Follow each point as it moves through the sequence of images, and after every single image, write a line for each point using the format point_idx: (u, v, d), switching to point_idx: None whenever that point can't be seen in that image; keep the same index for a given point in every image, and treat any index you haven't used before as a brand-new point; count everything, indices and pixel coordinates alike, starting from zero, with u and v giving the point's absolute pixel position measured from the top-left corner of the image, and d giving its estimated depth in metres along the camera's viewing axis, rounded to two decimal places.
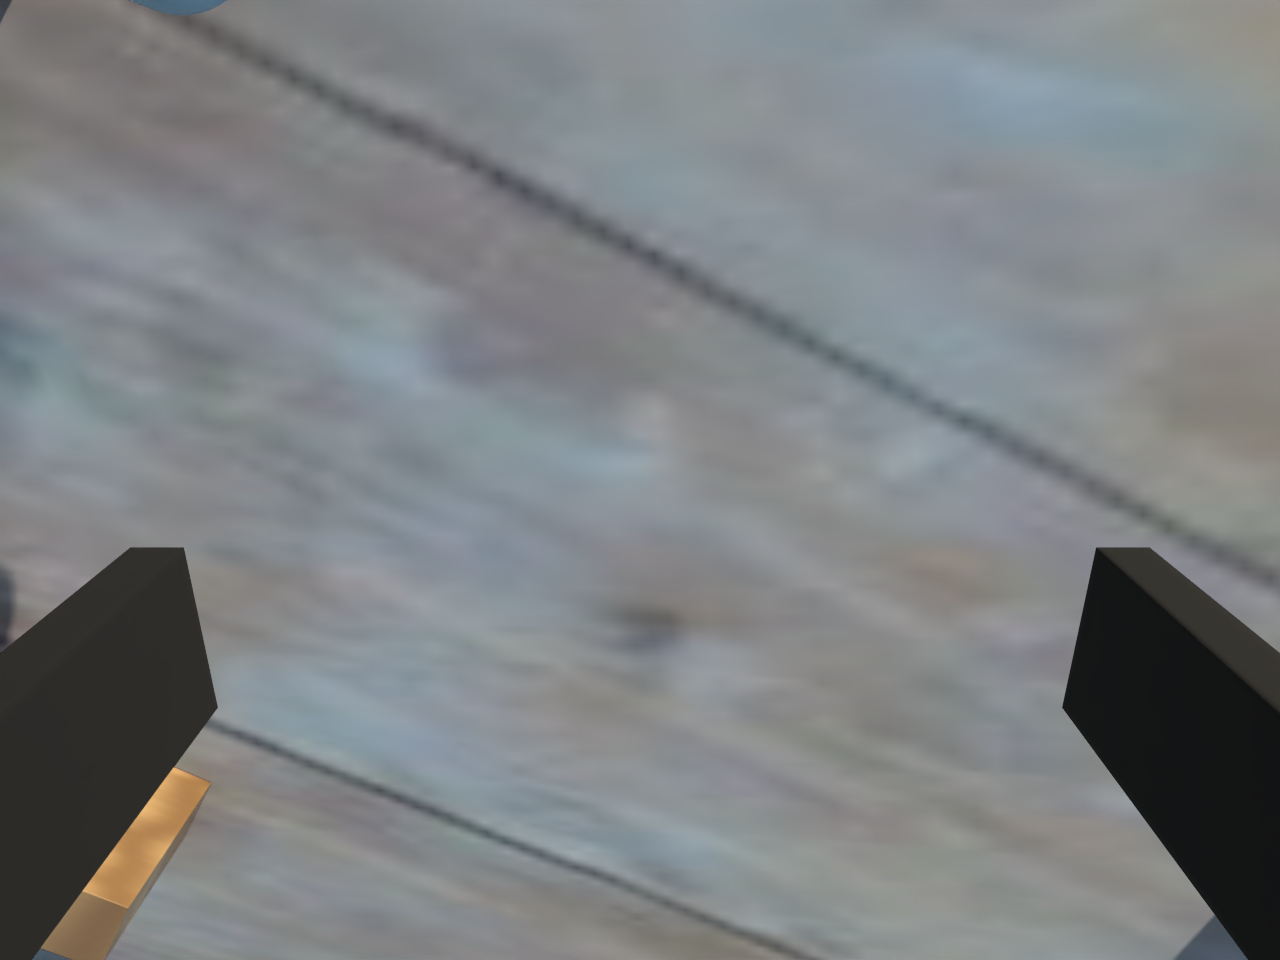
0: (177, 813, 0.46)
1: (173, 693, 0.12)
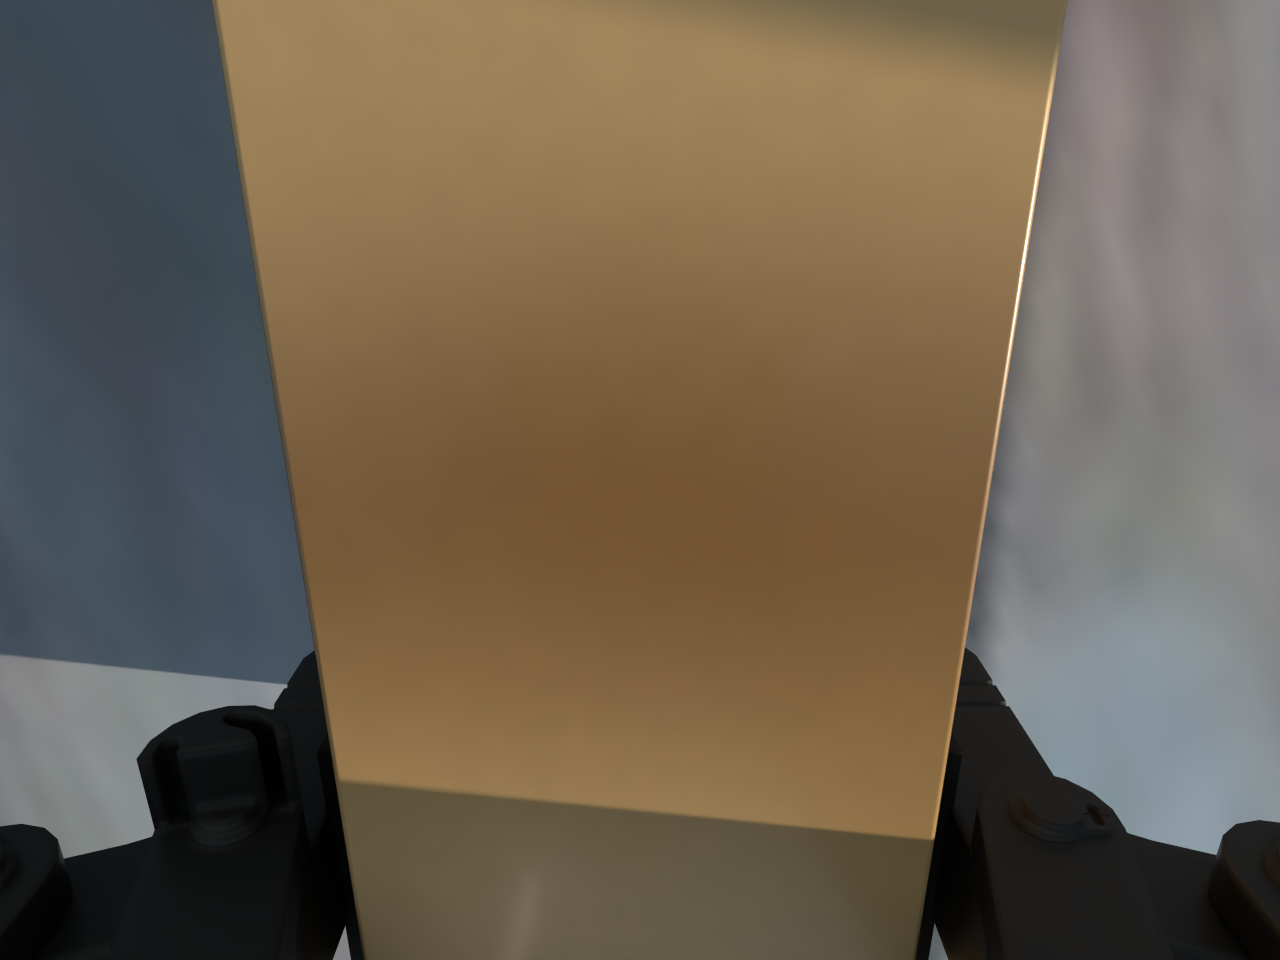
0: None
1: None
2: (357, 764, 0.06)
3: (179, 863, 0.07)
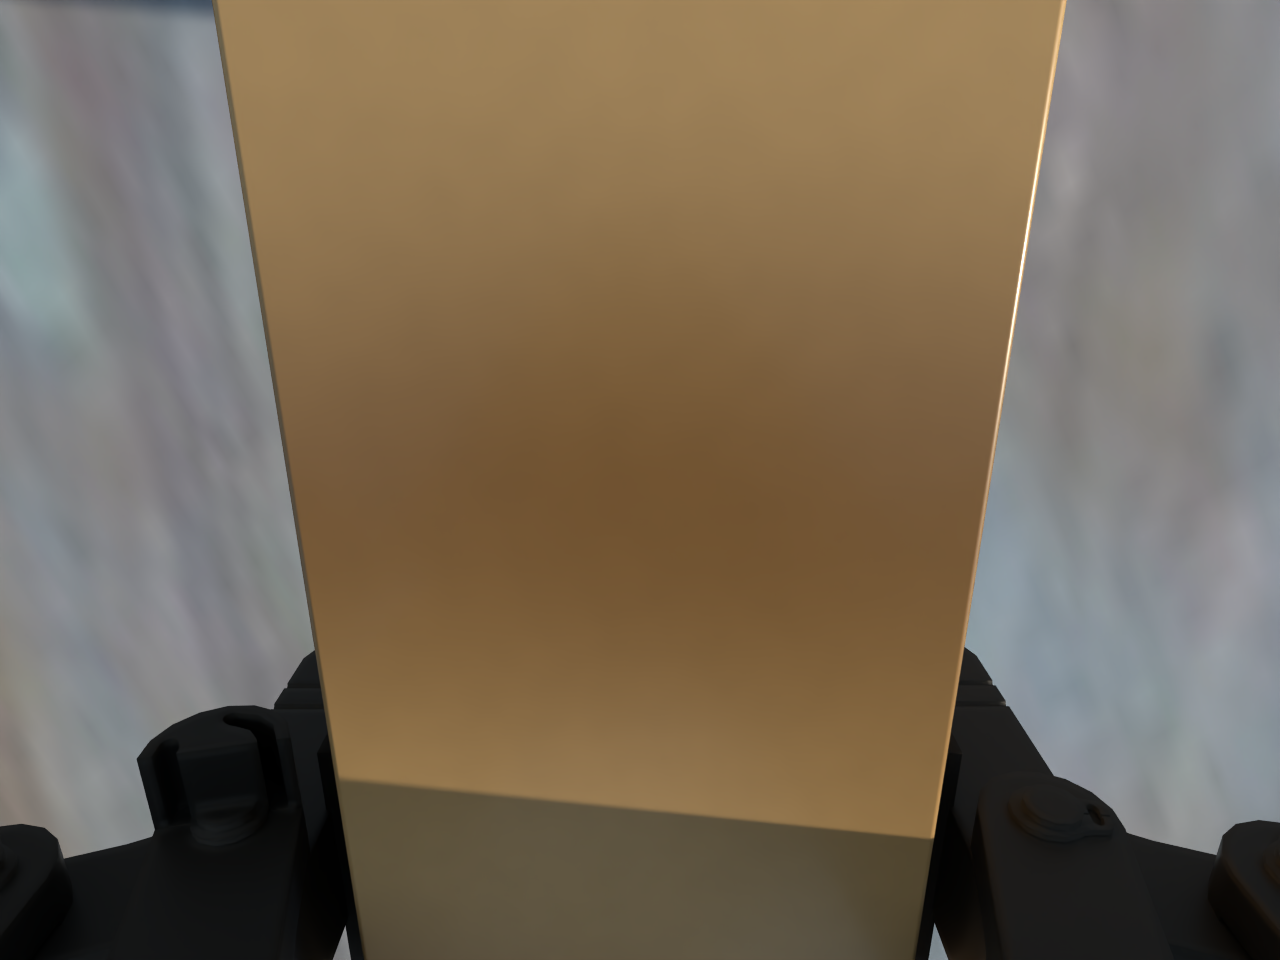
0: None
1: None
2: (356, 761, 0.06)
3: (179, 863, 0.07)
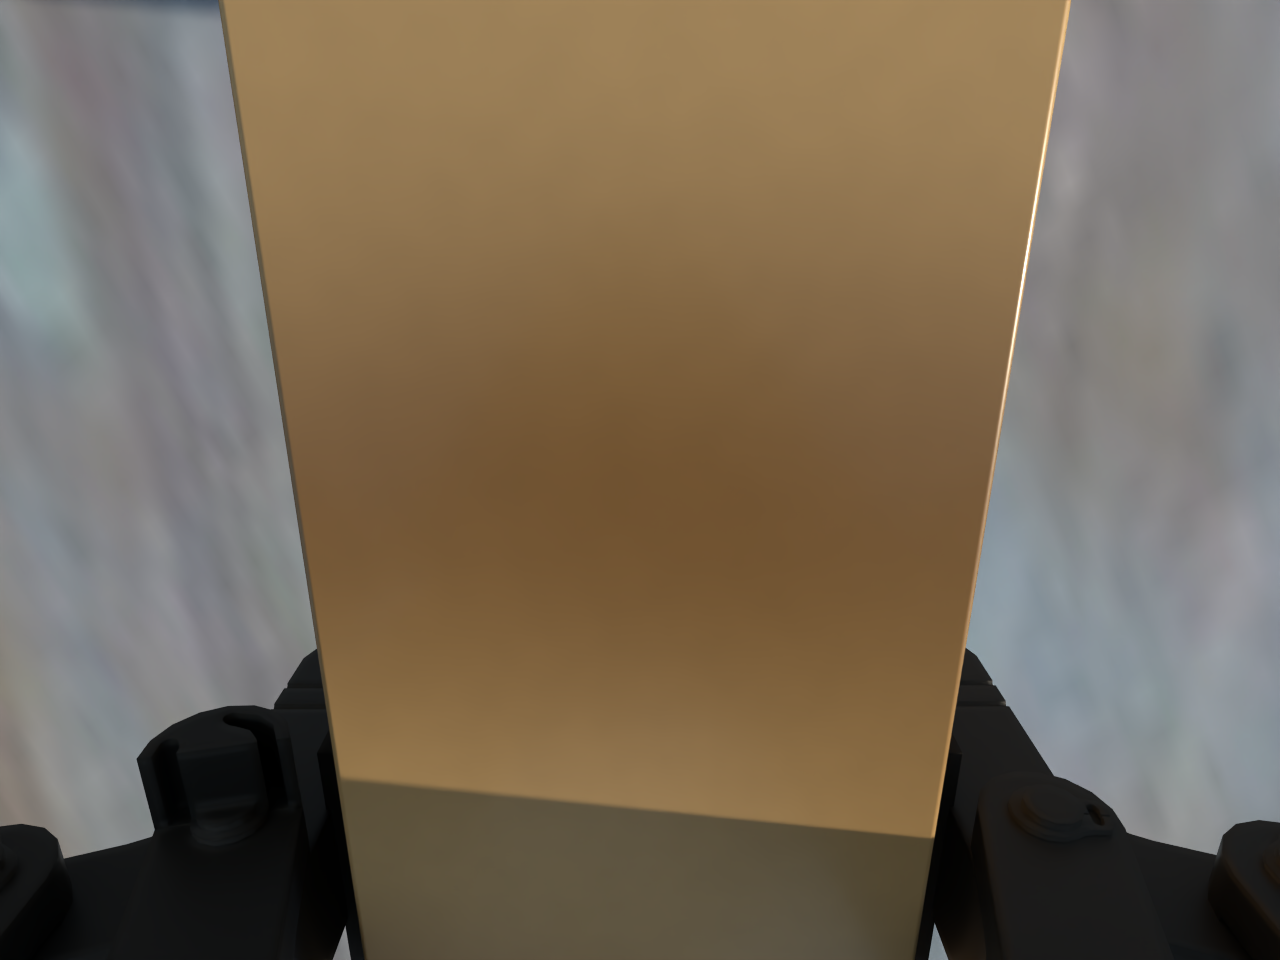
0: None
1: None
2: (357, 759, 0.06)
3: (179, 863, 0.07)
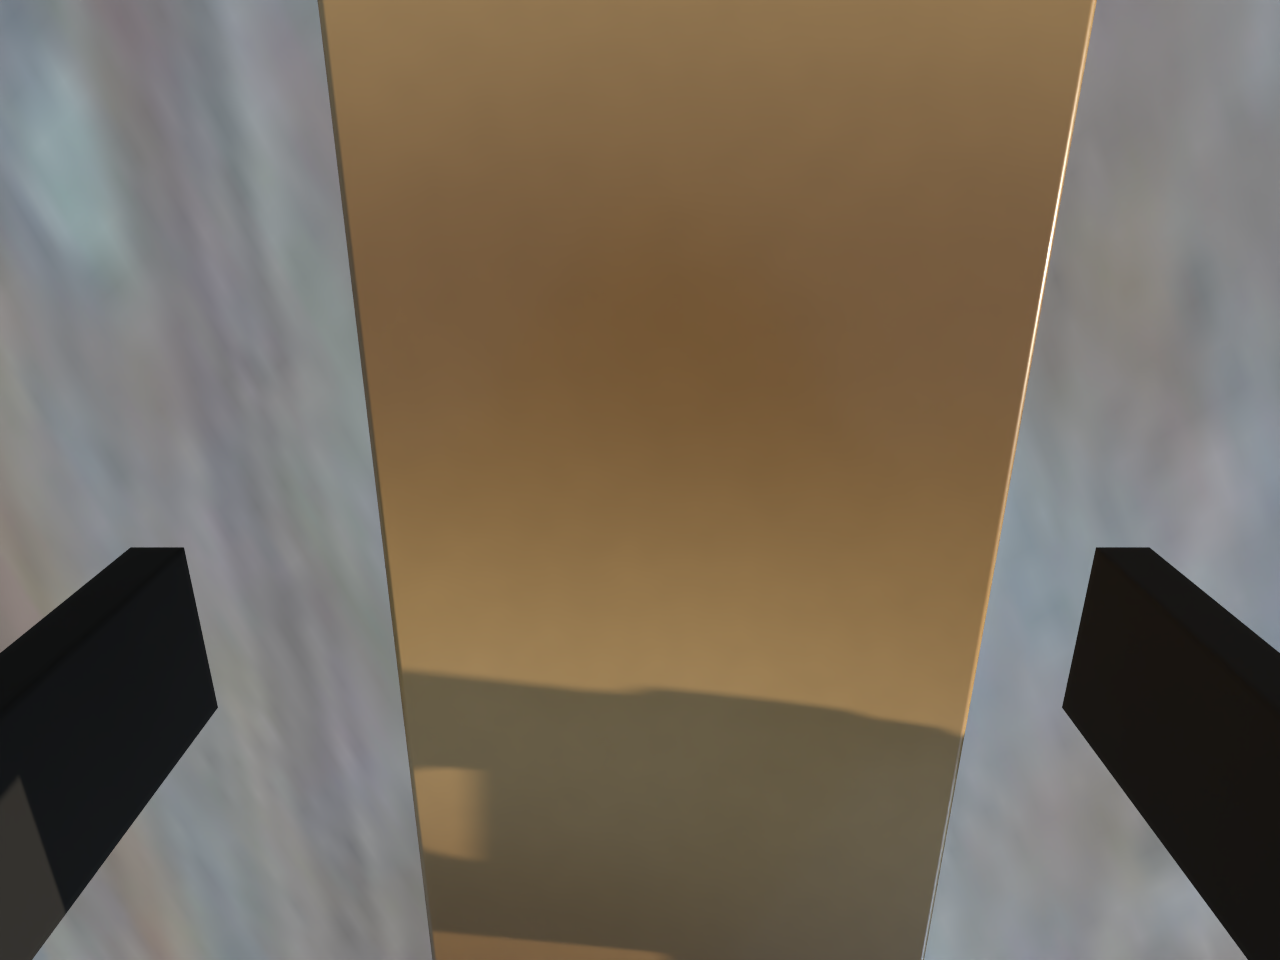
0: None
1: (173, 693, 0.12)
2: (411, 584, 0.07)
3: None
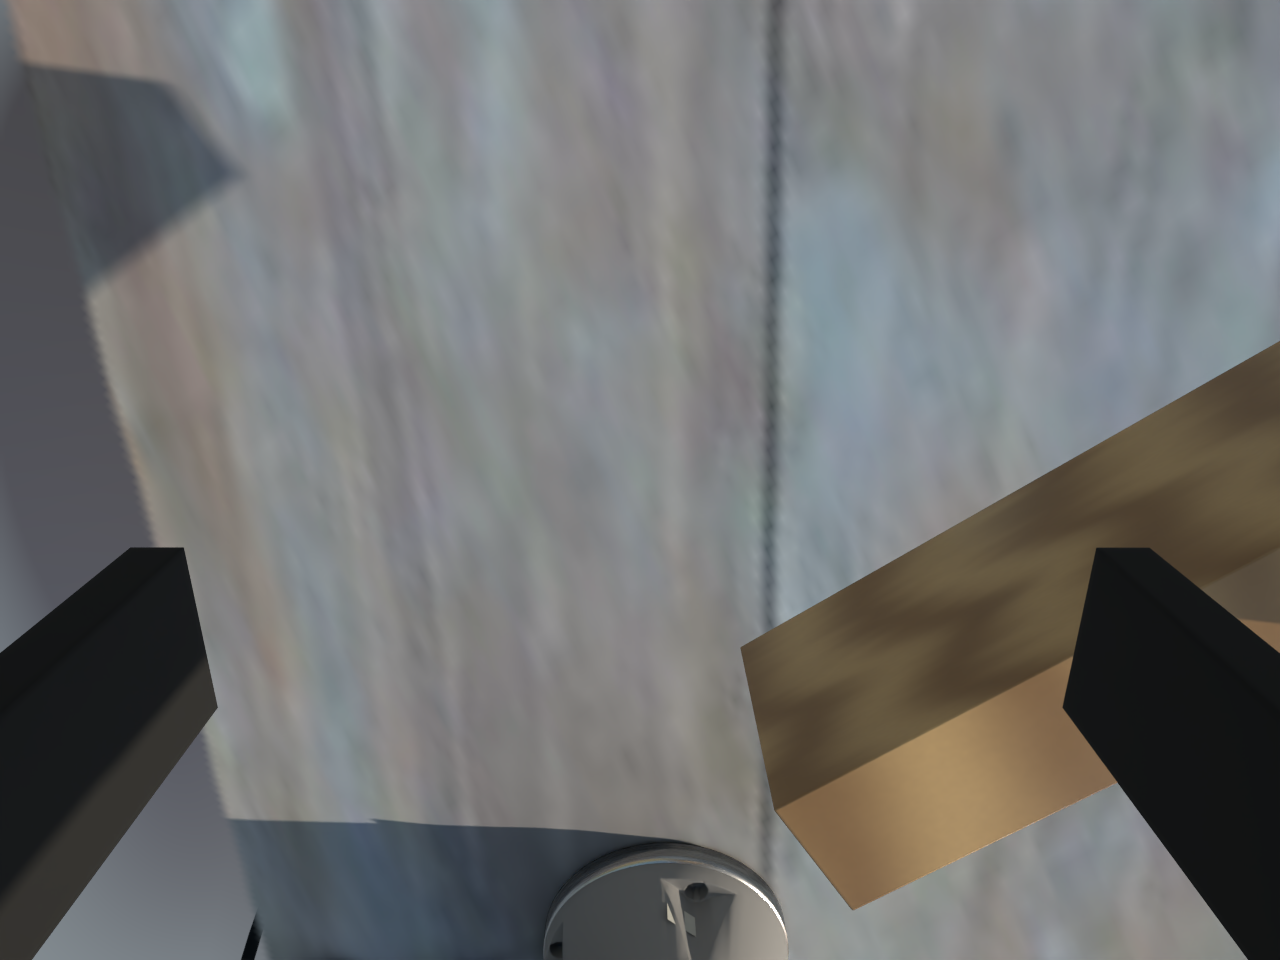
0: None
1: (173, 693, 0.12)
2: (962, 719, 0.24)
3: None
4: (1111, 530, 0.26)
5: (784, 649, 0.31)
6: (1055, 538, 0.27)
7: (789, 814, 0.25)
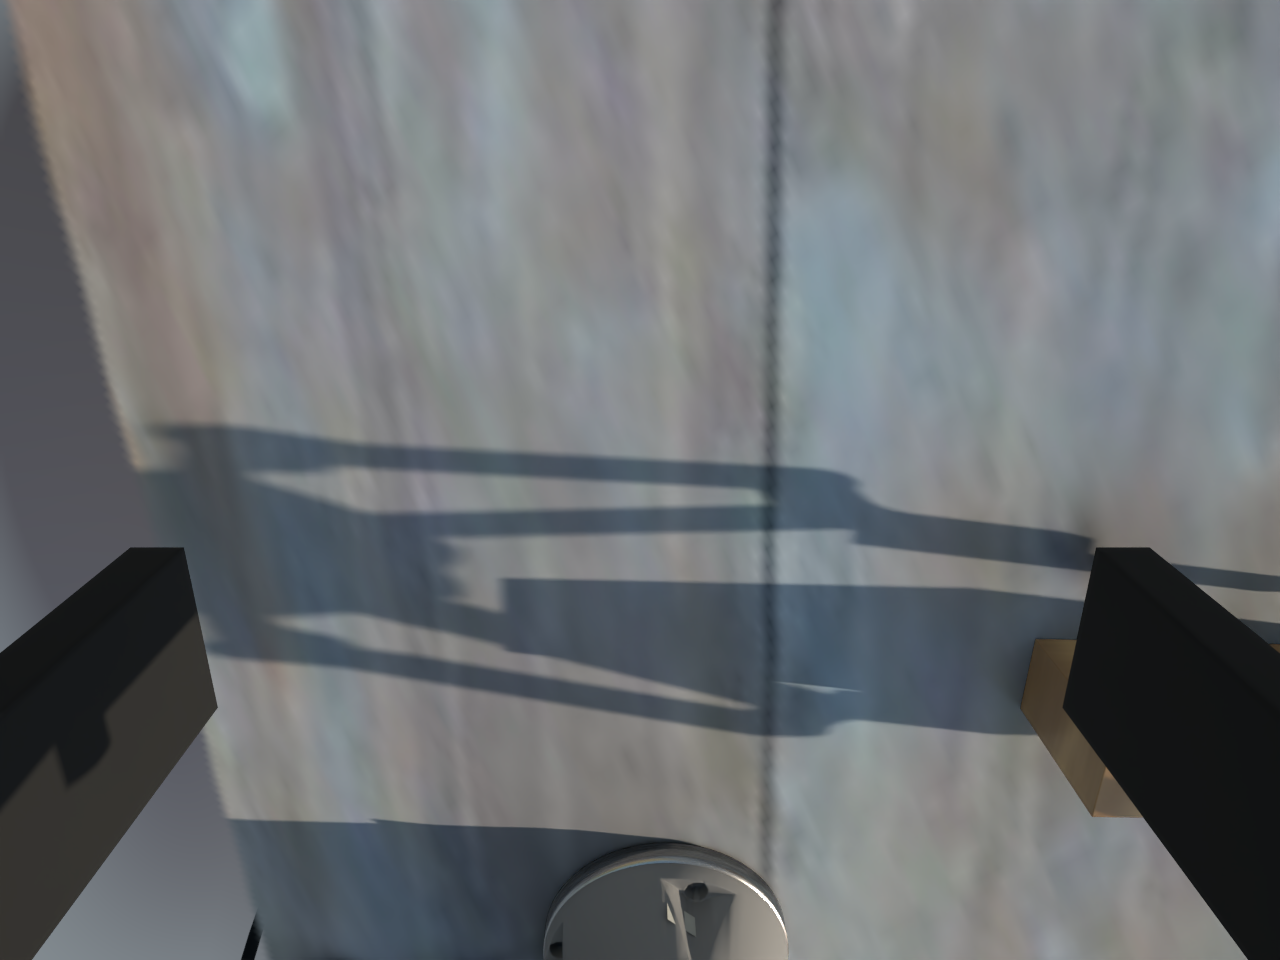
0: None
1: (173, 693, 0.12)
2: None
3: None
4: None
5: None
6: None
7: None
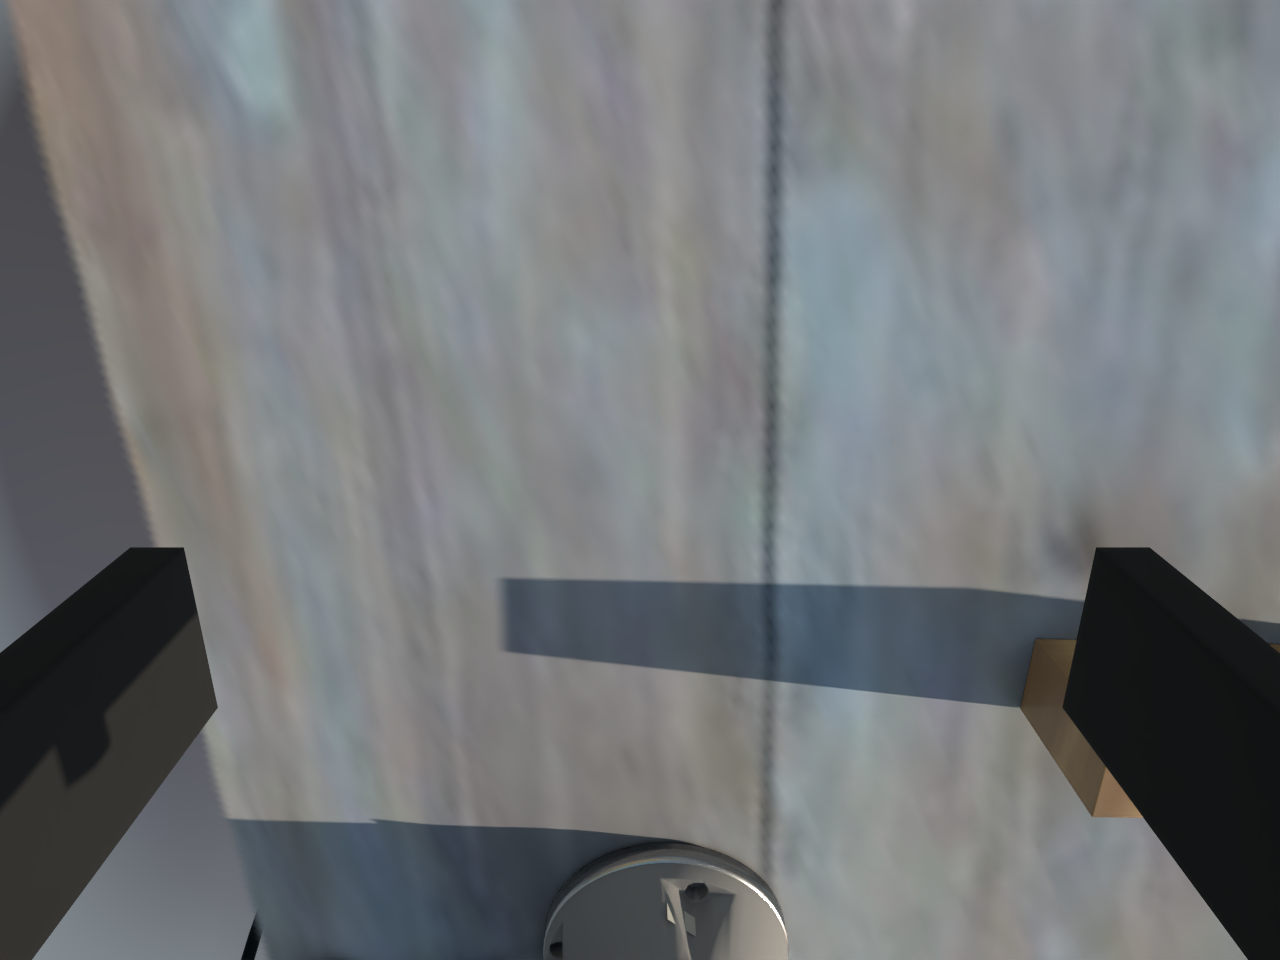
0: None
1: (173, 693, 0.12)
2: None
3: None
4: None
5: None
6: None
7: None
